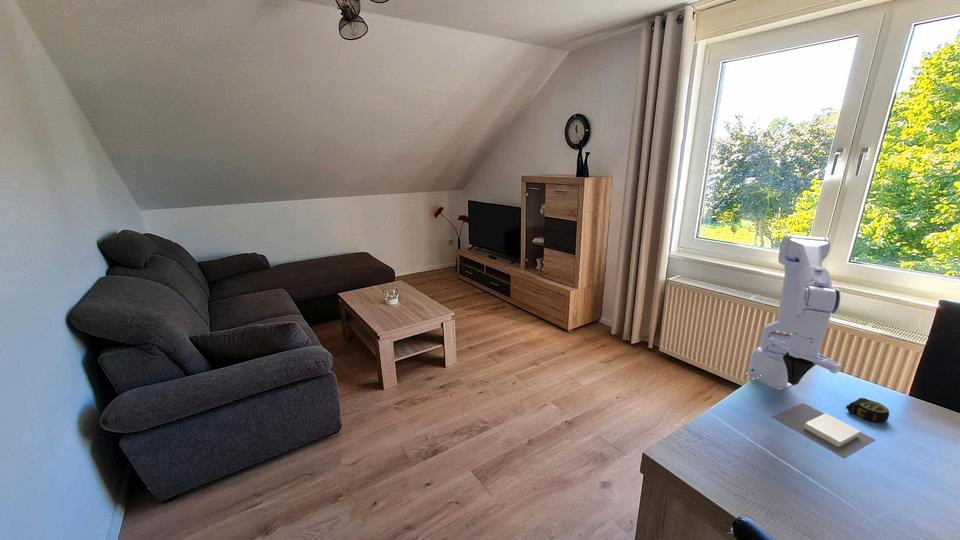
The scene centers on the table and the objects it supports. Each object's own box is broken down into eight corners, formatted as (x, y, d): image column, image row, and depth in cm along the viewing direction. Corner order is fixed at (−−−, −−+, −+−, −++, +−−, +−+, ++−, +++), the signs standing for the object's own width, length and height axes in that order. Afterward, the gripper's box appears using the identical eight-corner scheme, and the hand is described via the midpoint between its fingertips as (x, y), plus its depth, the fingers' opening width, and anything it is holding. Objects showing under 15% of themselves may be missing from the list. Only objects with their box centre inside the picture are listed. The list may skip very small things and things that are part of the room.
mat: (771, 418, 97) (771, 416, 97) (802, 404, 103) (803, 402, 102) (843, 459, 84) (844, 458, 84) (875, 441, 90) (875, 439, 89)
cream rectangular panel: (805, 422, 92) (840, 442, 86) (825, 413, 96) (860, 431, 90) (803, 428, 93) (838, 448, 87) (823, 418, 96) (858, 436, 90)
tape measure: (857, 405, 102) (861, 394, 101) (891, 421, 96) (896, 409, 95) (843, 412, 100) (847, 400, 98) (877, 429, 94) (882, 416, 92)
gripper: (765, 325, 95) (753, 371, 99) (835, 352, 82) (818, 404, 86) (781, 320, 98) (769, 365, 102) (852, 345, 85) (835, 396, 89)
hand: (792, 382), depth 94 cm, fingers closed
